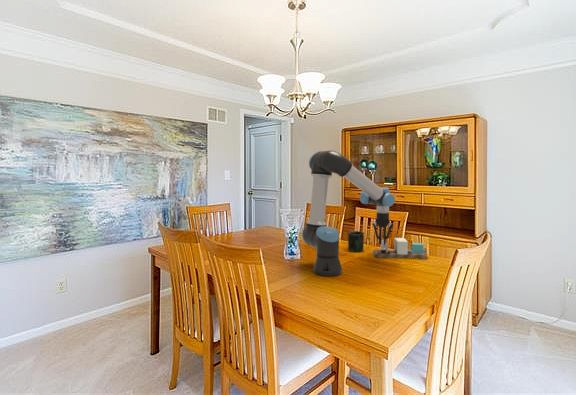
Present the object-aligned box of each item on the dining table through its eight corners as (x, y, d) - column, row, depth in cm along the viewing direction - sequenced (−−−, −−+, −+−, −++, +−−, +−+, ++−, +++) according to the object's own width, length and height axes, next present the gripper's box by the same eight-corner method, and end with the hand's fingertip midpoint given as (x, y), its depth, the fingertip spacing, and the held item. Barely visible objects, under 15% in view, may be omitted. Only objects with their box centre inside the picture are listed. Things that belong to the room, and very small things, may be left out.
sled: (386, 252, 199) (386, 244, 199) (384, 250, 206) (384, 242, 206) (427, 254, 196) (427, 245, 195) (424, 251, 203) (424, 243, 202)
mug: (344, 251, 215) (345, 233, 214) (352, 246, 227) (353, 229, 226) (360, 253, 209) (361, 235, 208) (367, 248, 221) (368, 231, 220)
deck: (375, 257, 198) (375, 253, 198) (373, 253, 209) (373, 249, 209) (426, 259, 194) (426, 255, 194) (421, 254, 205) (421, 250, 205)
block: (413, 251, 198) (413, 244, 198) (411, 250, 202) (411, 242, 202) (423, 252, 197) (423, 244, 197) (421, 250, 202) (421, 243, 201)
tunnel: (397, 254, 197) (397, 241, 196) (394, 250, 207) (394, 237, 206) (407, 254, 196) (407, 241, 195) (403, 250, 206) (404, 238, 205)
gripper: (372, 213, 198) (372, 250, 200) (394, 213, 196) (393, 251, 198) (371, 211, 205) (370, 247, 207) (392, 211, 203) (391, 248, 206)
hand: (382, 249), depth 203 cm, fingers closed
